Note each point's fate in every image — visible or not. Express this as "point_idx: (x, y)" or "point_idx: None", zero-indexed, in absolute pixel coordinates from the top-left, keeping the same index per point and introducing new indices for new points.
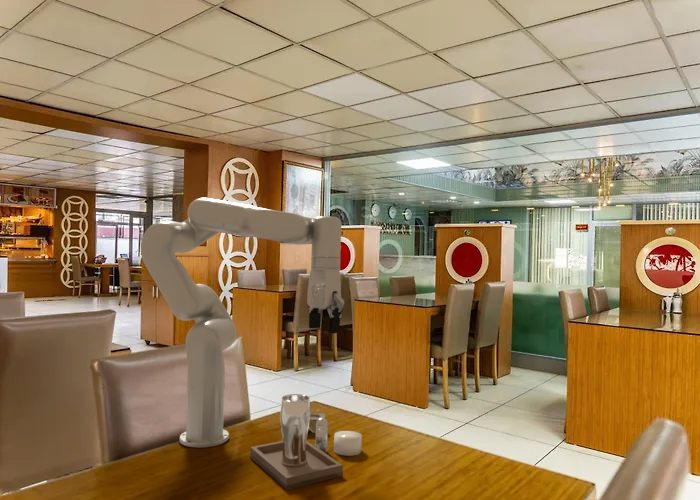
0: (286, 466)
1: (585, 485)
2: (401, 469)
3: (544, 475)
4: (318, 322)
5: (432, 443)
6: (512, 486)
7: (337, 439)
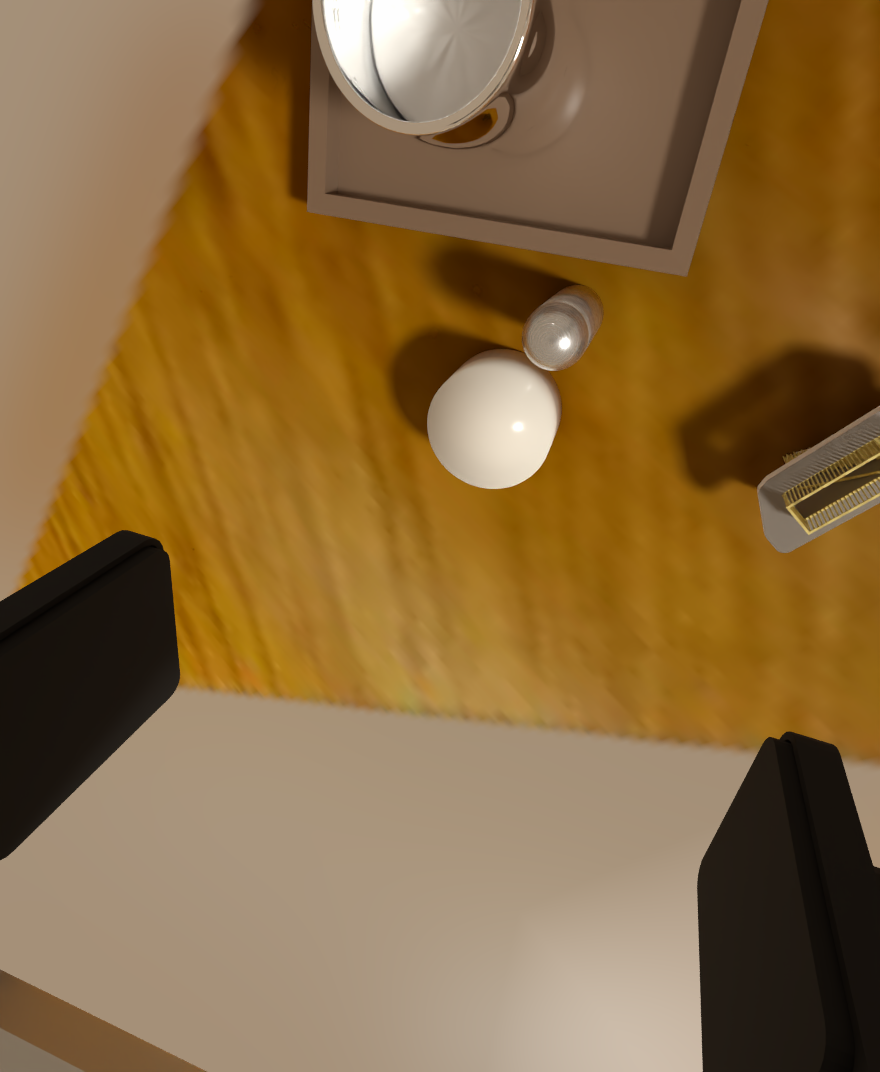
0: None
1: None
2: (271, 429)
3: None
4: (715, 935)
5: (374, 667)
6: (76, 552)
7: (491, 364)
